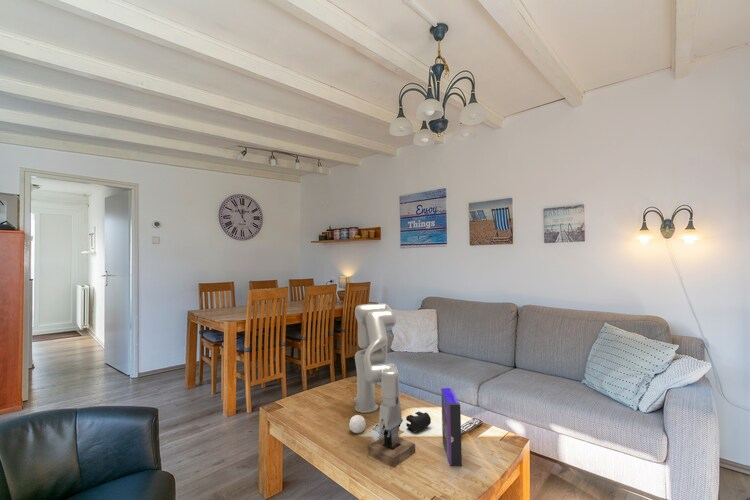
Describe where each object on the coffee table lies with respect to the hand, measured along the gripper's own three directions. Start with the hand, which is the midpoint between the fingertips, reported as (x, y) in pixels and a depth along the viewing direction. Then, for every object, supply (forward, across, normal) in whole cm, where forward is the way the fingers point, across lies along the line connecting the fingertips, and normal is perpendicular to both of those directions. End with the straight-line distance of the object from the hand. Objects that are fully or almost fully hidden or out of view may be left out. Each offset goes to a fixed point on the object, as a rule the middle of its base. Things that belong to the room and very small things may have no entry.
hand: (391, 442), depth 151 cm
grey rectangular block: (+3, 0, 0) cm, 3 cm away
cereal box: (+4, -16, +19) cm, 25 cm away
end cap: (+5, -24, -4) cm, 25 cm away
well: (+4, 0, 0) cm, 4 cm away
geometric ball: (+5, -3, -24) cm, 24 cm away
